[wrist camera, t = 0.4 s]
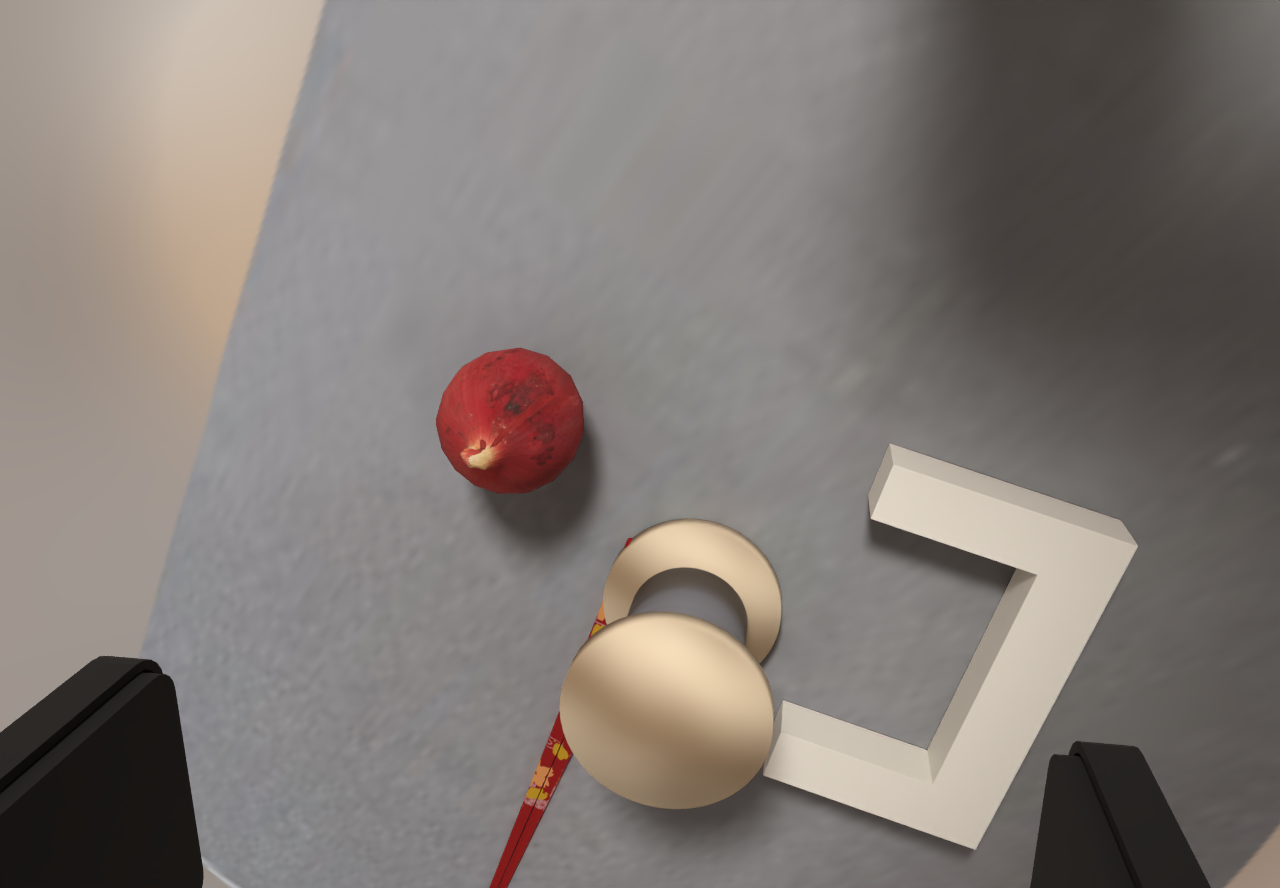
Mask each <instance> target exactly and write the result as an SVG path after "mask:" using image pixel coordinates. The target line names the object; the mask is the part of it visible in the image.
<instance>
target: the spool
mask: <svg viewBox="0 0 1280 888" xmlns="http://www.w3.org/2000/svg"><path fill="white" fill-rule="evenodd" d="M603 606H604V615H605V620H606V623H607V625H606V626H604V627H603V628H601V629H600V630H598V631H597V632H596V633H595V634H593V635H592V636H591V637H590V638H589V639H588V640H587V641H586V642H585V643H584V645H583V646H582V647H581V648H580V649H579V651H578V653H577V654H576V656H575V658H574V659H573V662H572V664H571V667H570V669H569V671H568V674H567V676H566V679H565V681H564V684H563V687H562V692H561V696H560V719H561V724H562V728H563V732H564V735H565V738H566V740H567V743H568V745H569V747H570V749H571V750H572V752H573V754H574V756H575V757H576V758H577V760H578V761H579V763H580V764H581V765H582V766H583V767H584V768H585V770H586V771H587V772H588V773H589V774H590V775H591V776H592V777H594V778H595V779H596V780H597V781H598V782H599V783H601V784H602V785H604V786H605V787H606V788H608V789H609V790H611V791H613V792H614V793H616V794H618V795H620V796H622V797H624V798H627V799H629V800H631V801H634V802H637V803H640V804H643V805H647V806H652V807H657V808H665V809H690V808H697V807H702V806H706V805H710V804H713V803H716V802H718V801H721V800H723V799H726V798H727V797H729V796H731V795H733V794H734V793H736V792H738V791H739V790H740V789H741V788H743V787H744V786H745V785H747V784H748V782H749V781H750V780H751V779H752V778H753V777H754V776H755V775H756V774H757V772H758V771H759V770H760V768H761V767H762V765H763V763H764V761H765V759H766V757H767V755H768V752H769V749H770V745H771V740H772V734H773V721H774V703H773V696H772V691H771V688H770V685H769V681H768V679H767V677H766V675H765V673H764V670H763V669H762V667H761V666H760V663H761V662H762V660H763V659H764V658H765V657H766V656H767V654H768V653H769V651H770V650H771V649H772V647H773V645H774V643H775V640H776V638H777V635H778V632H779V628H780V621H781V611H782V596H781V589H780V585H779V581H778V578H777V575H776V573H775V571H774V569H773V567H772V565H771V563H770V562H769V560H768V559H767V557H766V556H765V555H764V554H763V552H762V551H761V550H760V549H759V548H758V547H757V546H756V545H755V544H754V543H753V542H752V541H750V540H749V539H748V538H746V537H745V536H744V535H742V534H741V533H739V532H737V531H735V530H733V529H732V528H729V527H727V526H724V525H722V524H719V523H715V522H711V521H707V520H700V519H678V520H671V521H667V522H662V523H660V524H657V525H654V526H652V527H650V528H648V529H646V530H644V531H642V532H641V533H639V534H638V535H636V536H635V537H634V538H633V539H632V541H631V543H630V544H629V545H628V546H627V547H626V548H623V549H622V550H621V551H620V553H619V554H618V556H617V558H616V560H615V561H614V564H613V566H612V568H611V571H610V573H609V576H608V578H607V581H606V585H605V589H604V598H603Z"/></svg>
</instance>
